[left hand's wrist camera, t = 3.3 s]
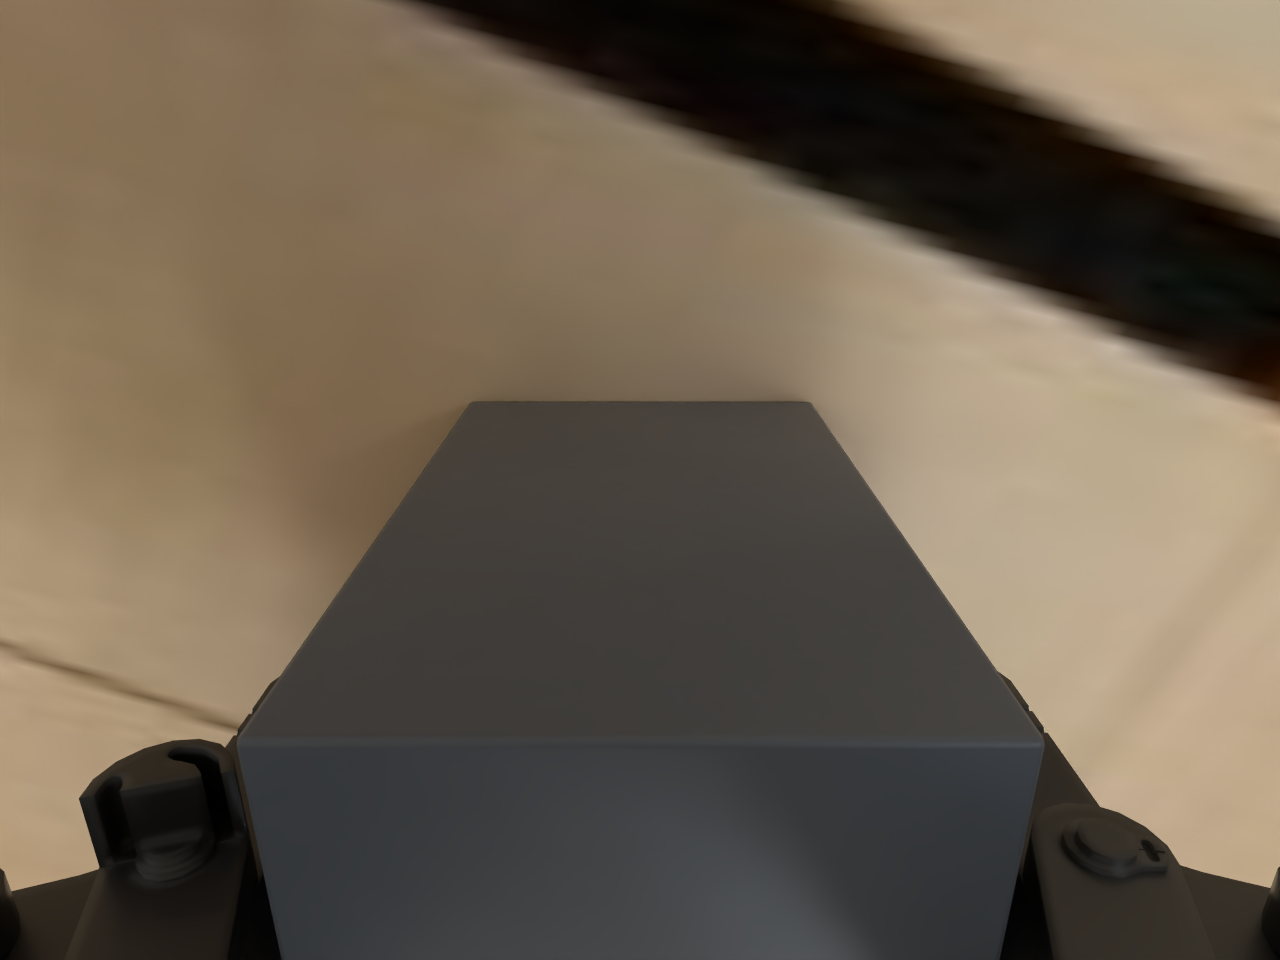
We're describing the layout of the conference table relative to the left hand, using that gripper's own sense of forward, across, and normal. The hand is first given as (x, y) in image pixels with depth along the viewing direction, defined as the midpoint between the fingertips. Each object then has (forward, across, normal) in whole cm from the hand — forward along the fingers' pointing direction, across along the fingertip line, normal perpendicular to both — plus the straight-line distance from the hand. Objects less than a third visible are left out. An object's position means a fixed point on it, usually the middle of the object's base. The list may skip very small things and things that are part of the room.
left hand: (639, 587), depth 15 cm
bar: (+1, 0, -8) cm, 9 cm away
